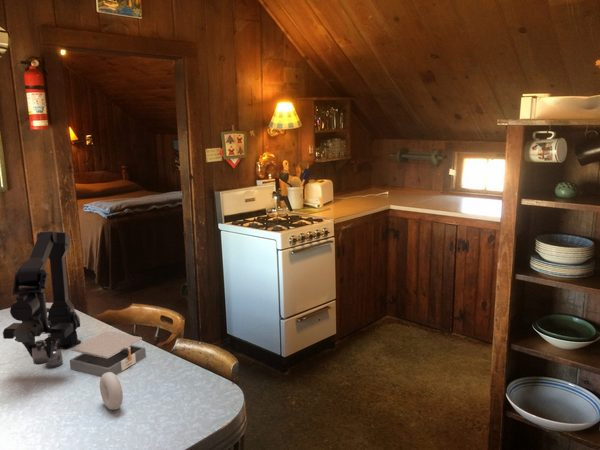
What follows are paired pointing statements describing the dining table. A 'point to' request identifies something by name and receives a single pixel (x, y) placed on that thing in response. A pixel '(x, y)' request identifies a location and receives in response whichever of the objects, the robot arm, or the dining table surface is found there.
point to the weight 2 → (55, 359)
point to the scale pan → (107, 344)
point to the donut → (111, 390)
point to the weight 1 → (40, 352)
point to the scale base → (82, 365)
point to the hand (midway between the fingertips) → (41, 357)
